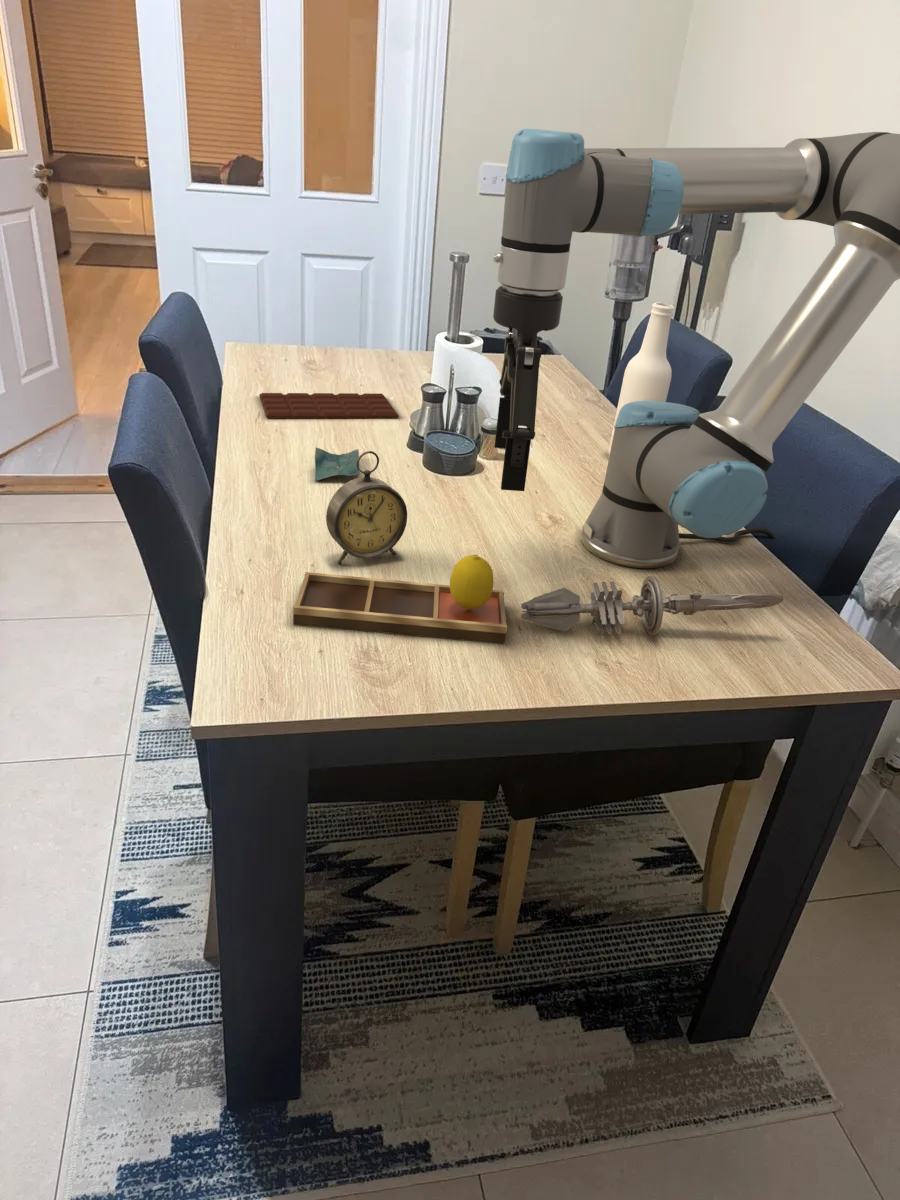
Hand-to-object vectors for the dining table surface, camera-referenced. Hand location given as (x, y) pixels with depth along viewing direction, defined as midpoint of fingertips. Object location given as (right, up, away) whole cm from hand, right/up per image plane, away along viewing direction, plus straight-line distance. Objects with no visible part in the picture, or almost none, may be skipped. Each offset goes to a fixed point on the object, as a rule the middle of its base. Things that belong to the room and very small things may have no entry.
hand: (508, 467), depth 105 cm
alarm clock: (-20, -10, +18) cm, 29 cm away
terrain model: (-27, +7, +45) cm, 53 cm away
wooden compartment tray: (-14, -18, +5) cm, 23 cm away
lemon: (-5, -18, +5) cm, 19 cm away
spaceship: (+19, -21, +8) cm, 29 cm away
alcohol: (+29, +12, +65) cm, 72 cm away
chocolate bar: (-33, +24, +73) cm, 84 cm away
